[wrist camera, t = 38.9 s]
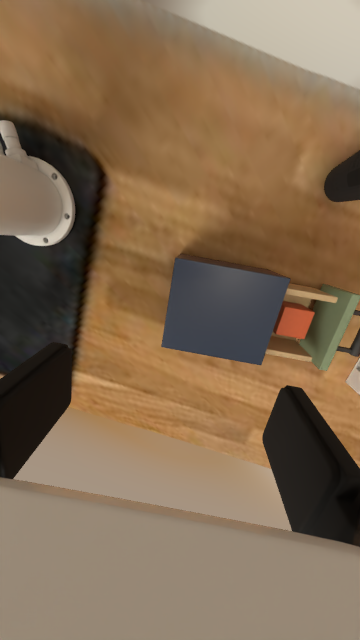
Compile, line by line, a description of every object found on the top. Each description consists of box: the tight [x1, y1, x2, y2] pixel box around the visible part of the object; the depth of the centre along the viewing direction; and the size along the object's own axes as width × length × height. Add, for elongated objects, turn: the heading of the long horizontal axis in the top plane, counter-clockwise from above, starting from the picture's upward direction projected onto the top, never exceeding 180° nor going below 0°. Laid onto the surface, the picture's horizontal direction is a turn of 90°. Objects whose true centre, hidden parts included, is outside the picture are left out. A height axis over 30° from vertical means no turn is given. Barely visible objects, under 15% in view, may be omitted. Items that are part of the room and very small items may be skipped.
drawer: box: [265, 283, 360, 371], centre depth 35 cm, size 19×12×7 cm, turn 80°
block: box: [273, 301, 315, 339], centre depth 35 cm, size 4×4×4 cm
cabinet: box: [161, 254, 290, 365], centre depth 35 cm, size 15×13×9 cm
